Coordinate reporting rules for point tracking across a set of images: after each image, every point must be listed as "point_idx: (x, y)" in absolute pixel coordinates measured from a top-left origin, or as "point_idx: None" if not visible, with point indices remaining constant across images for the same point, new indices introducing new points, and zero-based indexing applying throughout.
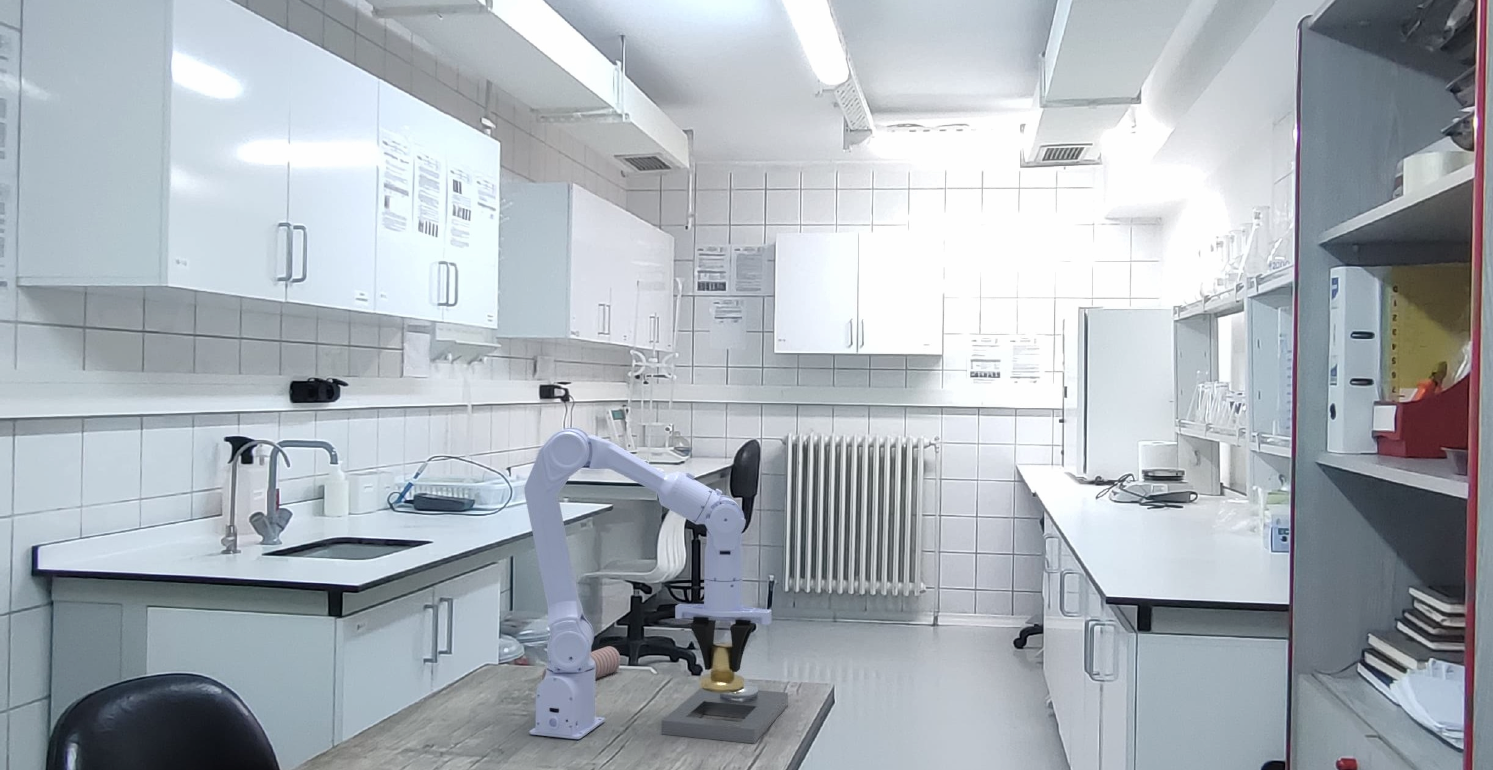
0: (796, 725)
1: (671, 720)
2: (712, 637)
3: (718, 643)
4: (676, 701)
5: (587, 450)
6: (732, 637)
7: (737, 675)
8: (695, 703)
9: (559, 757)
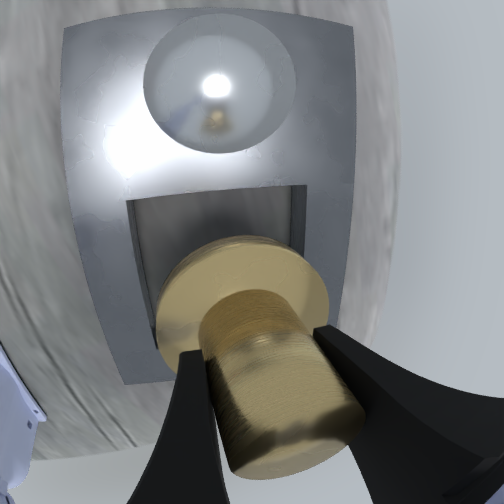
0: (381, 191)
1: (143, 379)
2: (223, 484)
3: (260, 443)
4: (17, 112)
5: None
6: (377, 498)
7: (292, 260)
8: (114, 236)
9: (83, 454)
